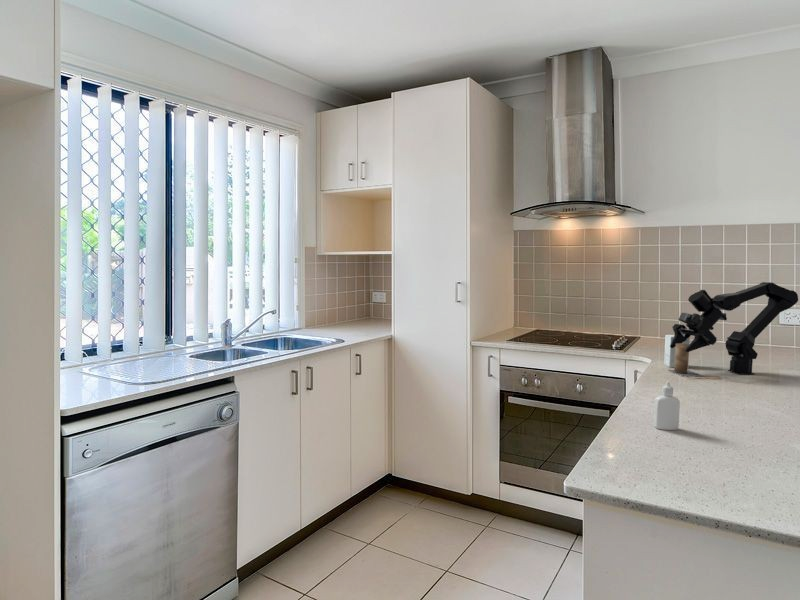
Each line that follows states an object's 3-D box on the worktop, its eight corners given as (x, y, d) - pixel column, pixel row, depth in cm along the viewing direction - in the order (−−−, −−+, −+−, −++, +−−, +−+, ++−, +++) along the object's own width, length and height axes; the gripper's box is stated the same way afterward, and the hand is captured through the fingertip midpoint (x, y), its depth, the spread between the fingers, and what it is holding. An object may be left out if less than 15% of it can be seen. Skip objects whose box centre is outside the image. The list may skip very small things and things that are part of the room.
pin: (687, 372, 200) (688, 343, 199) (687, 374, 196) (688, 345, 196) (674, 371, 202) (675, 343, 202) (674, 373, 198) (675, 344, 198)
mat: (689, 371, 204) (689, 370, 204) (703, 376, 194) (703, 375, 194) (668, 371, 204) (668, 369, 204) (682, 376, 194) (682, 375, 194)
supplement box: (688, 368, 210) (690, 337, 209) (668, 367, 211) (670, 336, 210) (682, 365, 217) (684, 334, 216) (663, 364, 219) (664, 334, 218)
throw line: (718, 378, 192) (718, 377, 192) (720, 379, 191) (720, 378, 191) (685, 378, 192) (685, 377, 192) (687, 378, 191) (687, 377, 191)
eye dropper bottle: (654, 424, 136) (656, 378, 135) (678, 427, 133) (681, 381, 132) (652, 428, 132) (655, 382, 132) (677, 432, 130) (680, 384, 129)
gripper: (677, 303, 207) (650, 331, 207) (710, 307, 189) (681, 338, 188) (695, 323, 209) (668, 350, 208) (729, 329, 190) (700, 359, 190)
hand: (678, 349), depth 199 cm, fingers open, 9 cm apart
